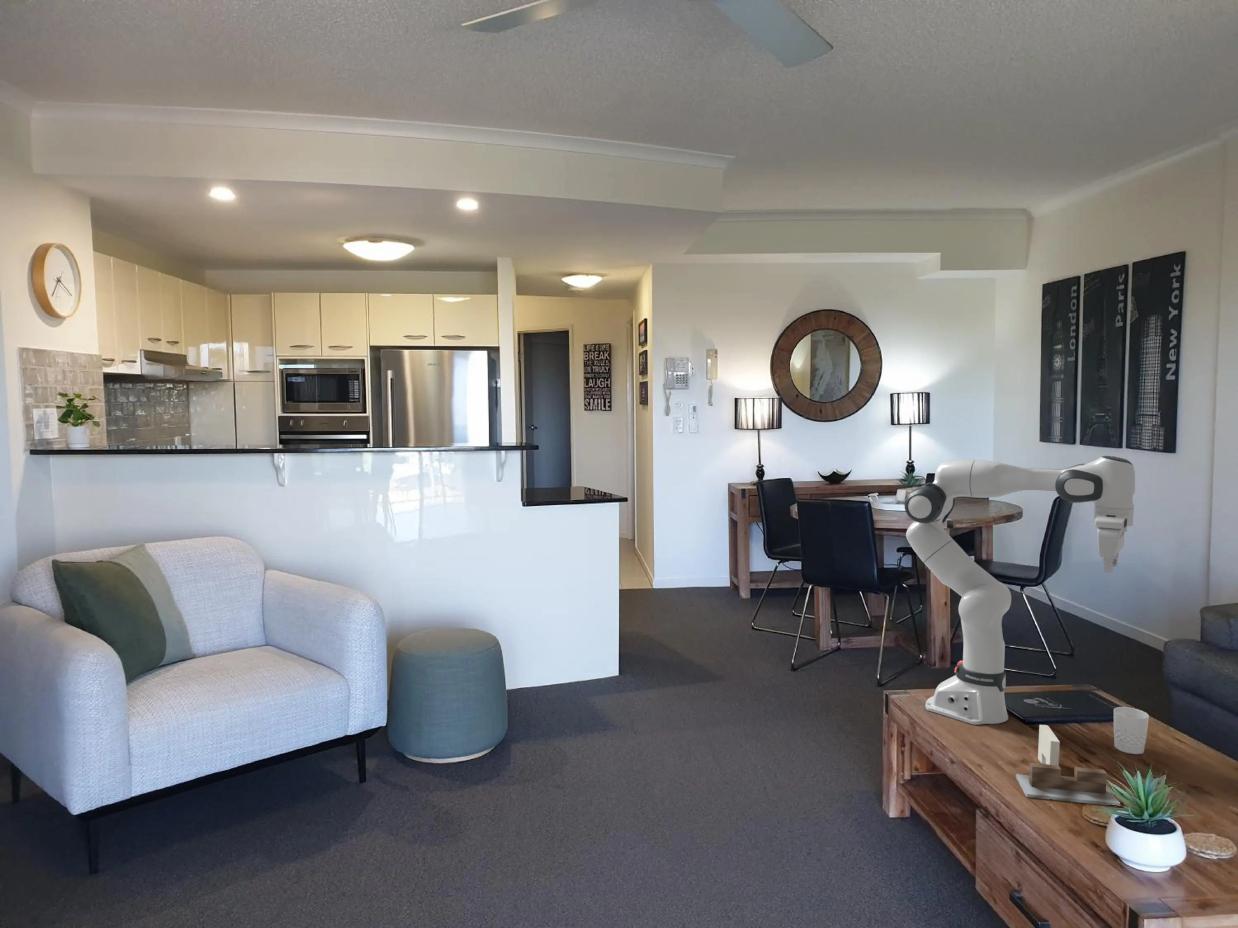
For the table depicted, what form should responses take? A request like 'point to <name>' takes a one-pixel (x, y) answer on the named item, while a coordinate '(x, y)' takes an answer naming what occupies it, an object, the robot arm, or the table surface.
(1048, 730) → the upright cream slab
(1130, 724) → the white cup
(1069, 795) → the base plate
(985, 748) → the table surface
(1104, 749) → the table surface
